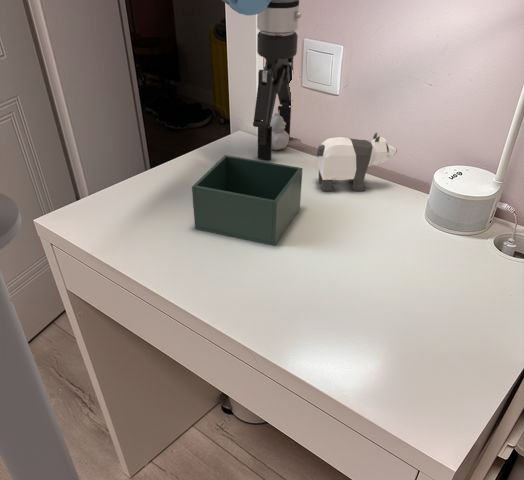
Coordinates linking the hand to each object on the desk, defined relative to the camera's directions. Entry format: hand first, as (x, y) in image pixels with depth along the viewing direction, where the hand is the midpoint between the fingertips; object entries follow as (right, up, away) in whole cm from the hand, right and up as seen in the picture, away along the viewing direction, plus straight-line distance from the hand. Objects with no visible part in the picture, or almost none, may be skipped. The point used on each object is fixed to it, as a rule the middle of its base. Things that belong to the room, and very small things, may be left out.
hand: (274, 147), depth 114 cm
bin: (-5, -21, -22) cm, 31 cm away
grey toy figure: (0, 0, 0) cm, 0 cm away
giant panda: (+14, -12, -12) cm, 22 cm away
